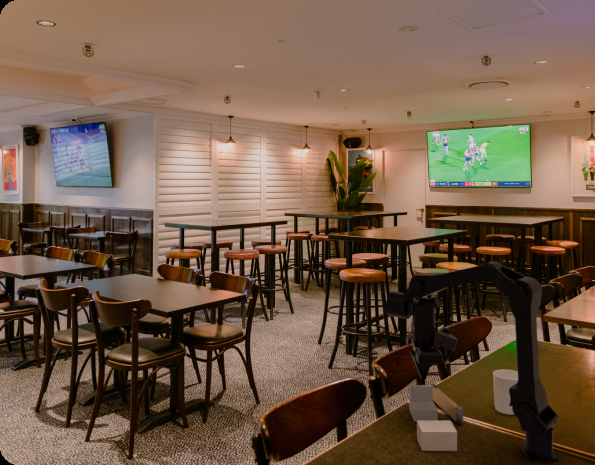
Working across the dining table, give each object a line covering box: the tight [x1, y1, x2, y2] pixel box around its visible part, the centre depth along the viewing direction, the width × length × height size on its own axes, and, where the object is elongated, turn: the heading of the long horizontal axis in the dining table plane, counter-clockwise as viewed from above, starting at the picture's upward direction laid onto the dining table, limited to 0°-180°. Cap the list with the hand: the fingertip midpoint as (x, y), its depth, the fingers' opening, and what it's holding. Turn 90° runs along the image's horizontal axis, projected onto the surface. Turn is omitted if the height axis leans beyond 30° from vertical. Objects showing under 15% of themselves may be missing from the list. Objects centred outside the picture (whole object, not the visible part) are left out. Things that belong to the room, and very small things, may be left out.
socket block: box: [416, 420, 458, 452], centre depth 120 cm, size 6×8×4 cm
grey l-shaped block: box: [408, 384, 439, 422], centre depth 135 cm, size 7×6×7 cm
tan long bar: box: [429, 383, 464, 424], centre depth 139 cm, size 18×2×4 cm, turn 9°
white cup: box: [492, 368, 518, 416], centre depth 139 cm, size 8×8×10 cm
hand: (423, 379), depth 134 cm, fingers closed
